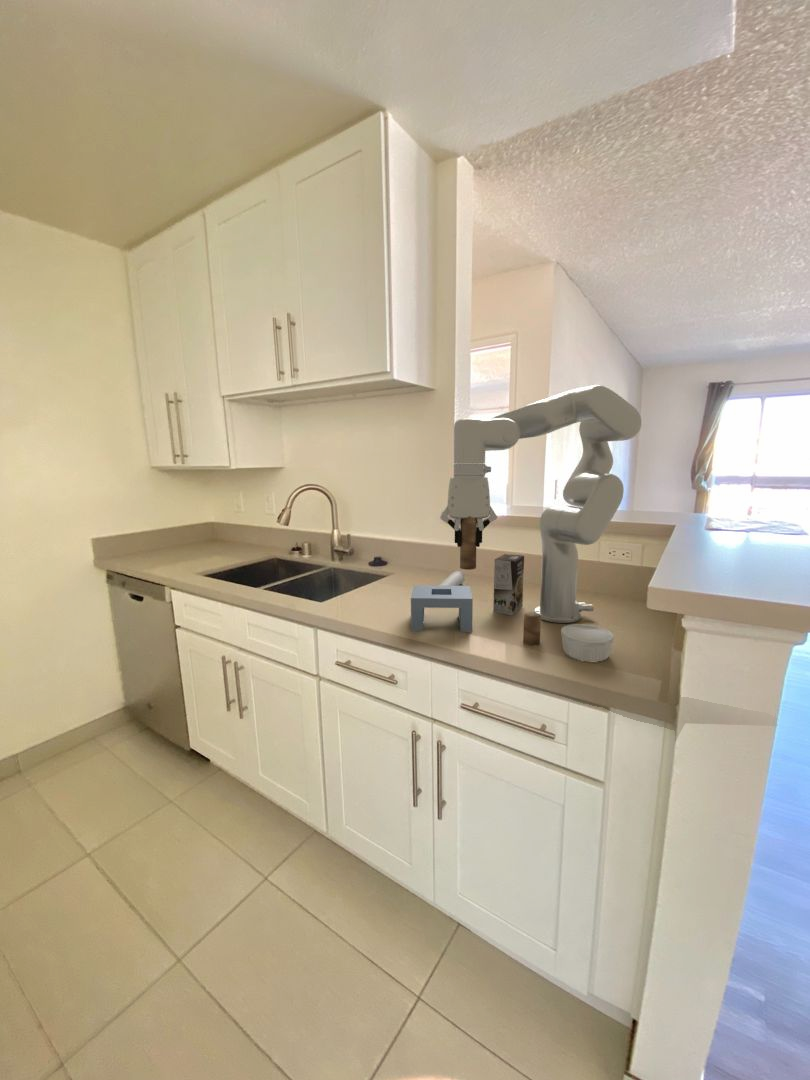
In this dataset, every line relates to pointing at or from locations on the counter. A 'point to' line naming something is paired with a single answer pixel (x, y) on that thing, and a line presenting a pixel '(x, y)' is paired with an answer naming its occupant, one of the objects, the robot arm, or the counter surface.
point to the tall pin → (468, 543)
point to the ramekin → (586, 642)
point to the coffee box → (508, 584)
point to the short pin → (532, 628)
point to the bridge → (441, 603)
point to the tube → (453, 579)
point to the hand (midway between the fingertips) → (468, 545)
